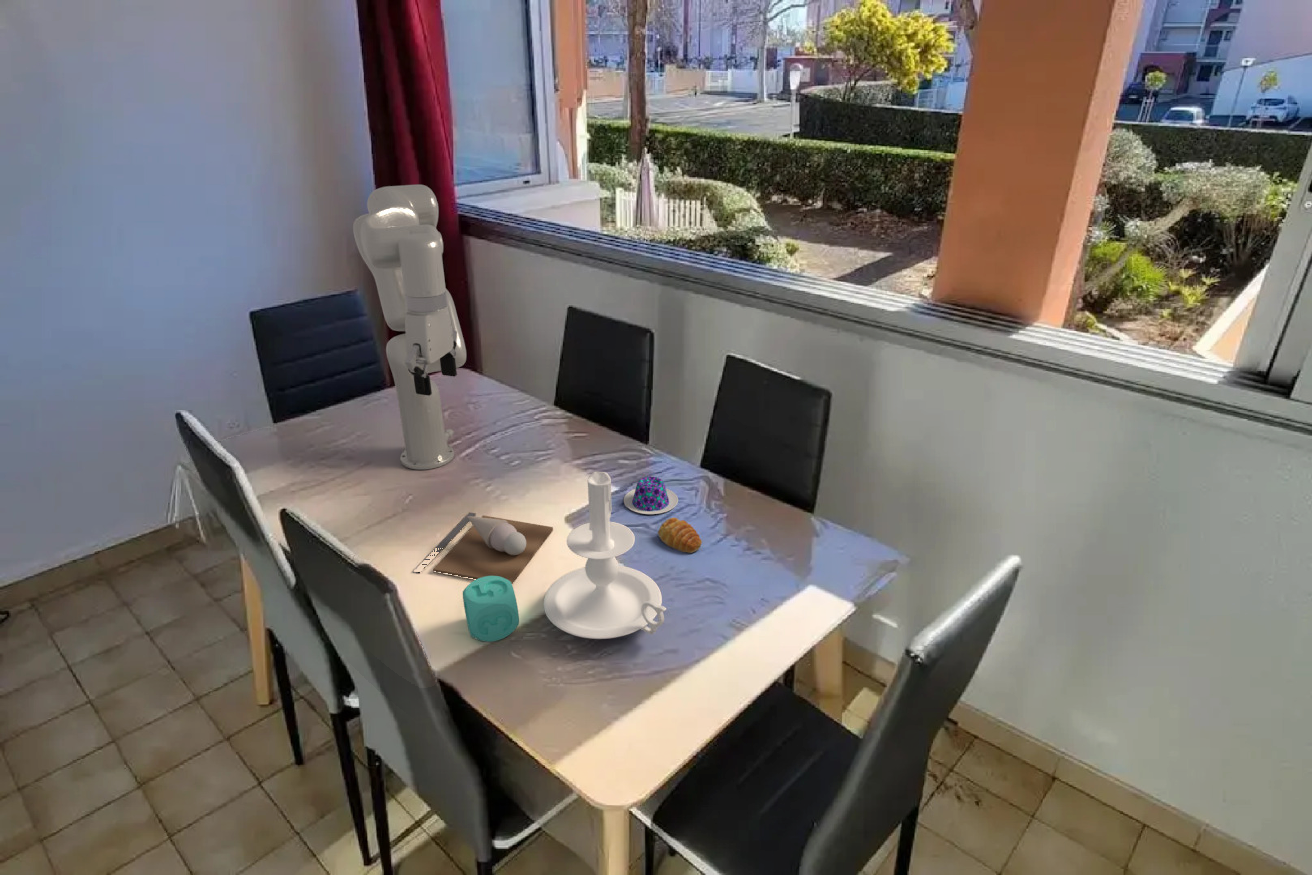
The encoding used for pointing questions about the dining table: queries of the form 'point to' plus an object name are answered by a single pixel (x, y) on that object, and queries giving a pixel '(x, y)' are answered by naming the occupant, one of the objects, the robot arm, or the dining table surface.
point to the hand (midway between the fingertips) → (437, 384)
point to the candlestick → (603, 578)
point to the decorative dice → (490, 608)
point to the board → (492, 554)
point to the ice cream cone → (499, 535)
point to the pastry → (679, 535)
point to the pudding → (650, 497)
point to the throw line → (452, 534)
